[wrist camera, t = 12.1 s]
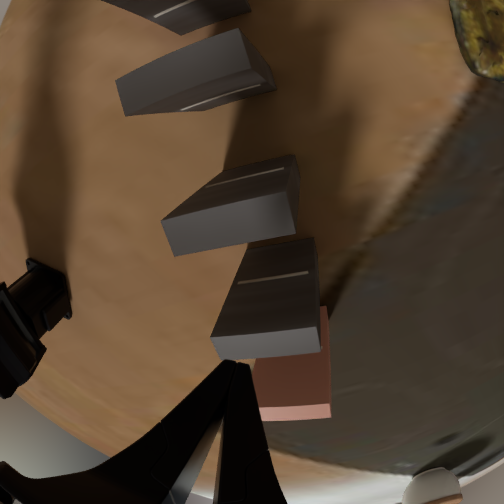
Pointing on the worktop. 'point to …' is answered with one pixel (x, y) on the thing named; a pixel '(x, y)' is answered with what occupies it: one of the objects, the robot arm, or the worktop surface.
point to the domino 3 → (237, 208)
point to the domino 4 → (272, 304)
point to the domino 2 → (197, 77)
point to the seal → (480, 35)
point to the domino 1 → (184, 12)
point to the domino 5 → (295, 382)
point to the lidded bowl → (433, 488)
